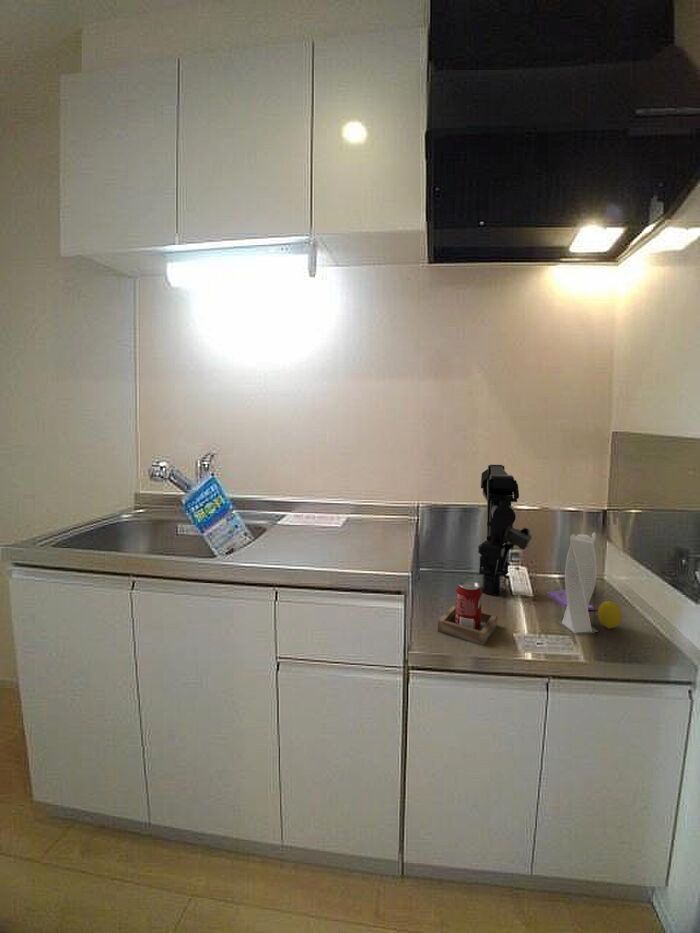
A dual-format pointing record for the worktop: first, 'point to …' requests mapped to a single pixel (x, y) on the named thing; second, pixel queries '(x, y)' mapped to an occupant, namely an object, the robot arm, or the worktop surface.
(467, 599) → the soda can
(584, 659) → the worktop surface
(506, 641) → the worktop surface
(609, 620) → the lemon
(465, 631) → the wooden square tray
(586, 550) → the skyscraper
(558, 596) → the sponges
